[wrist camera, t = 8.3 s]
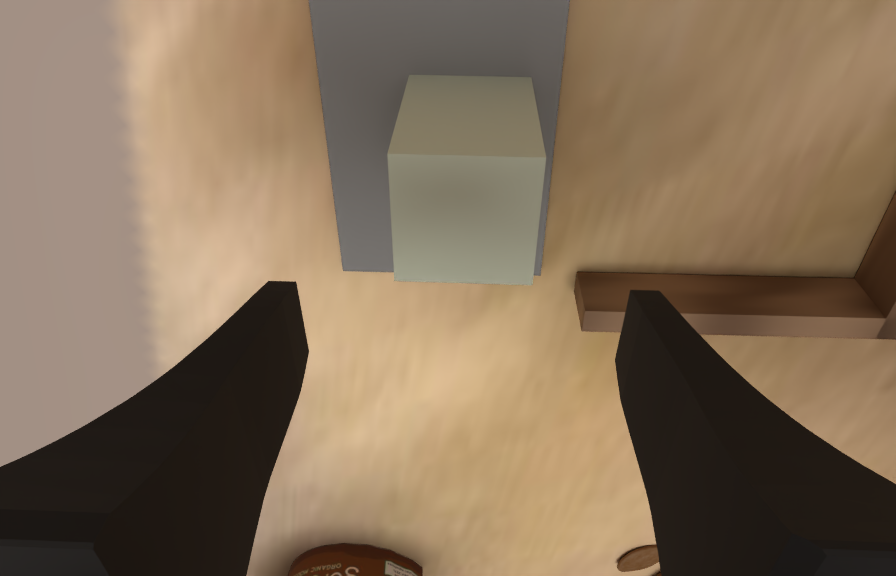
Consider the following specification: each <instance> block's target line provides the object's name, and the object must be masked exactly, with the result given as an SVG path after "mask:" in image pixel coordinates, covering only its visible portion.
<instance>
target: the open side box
mask: <svg viewBox="0 0 896 576" xmlns="http://www.w3.org/2000/svg"><path fill="white" fill-rule="evenodd" d="M630 290H659V291H660V292H661V293H662V294H663V295H664V296H665V297H666V298H667V299H668V301H669V302H670V303H671V304H672V305H673V306H674V307H675V308H676V310H677V311H678V312H679V313H680V314H681V315H682V316H683V317H684V318H685V319H686V321H687V322H688V323H689V324H690V325H691V326H692V327H693V328H694V329H695V330H696V332H697V333H698V334H705V335H743V336H781V337H820V338H858V339H896V193H895V195H894V197H893V199H892V201H891V203H890V205H889V207H888V209H887V211H886V213H885V215H884V218H883V220H882V222H881V224H880V226H879V228H878V230H877V232H876V234H875V236H874V238H873V241H872V243H871V245H870V247H869V249H868V251H867V253H866V255H865V257H864V259H863V261H862V263H861V266H860V268H859V270H858V272H857V274H856V276H855V278H815V277H771V276H727V275H683V274H639V273H595V272H577V276H576V282H575V289H574V294H575V299H576V304H577V309H578V314H579V320H580V325H581V330H582V331H590V332H621V330H622V326H623V321H624V316H625V312H626V307H627V303H628V298H629V293H630Z"/></svg>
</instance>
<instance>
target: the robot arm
mask: <svg viewBox="0 0 896 576" xmlns="http://www.w3.org/2000/svg"><path fill="white" fill-rule="evenodd" d="M308 353H309V349H308V344H307V338H306V333H305V328H304V322H303V317H302V311H301V306H300V300H299V295H298V290H297V284H296V282H286V281H268V282H267V283H266V284H265V285H264V286H263V287H262V288H261V289H259V290H258V291H257V292H256V293H255V294H254V295H253V296H252V297H251V298H250V299H249V300H248V301H247V302H246V303H245V304H244V305H243V306H242V307H241V308H240V309H239V310H238V311H237V312H235V313H234V314H233V315H232V316H231V317H230V318H229V319H228V320H227V321H226V322H225V323H224V324H223V325H222V326H221V327H220V328H218V329H217V330H216V331H215V332H214V333H213V334H212V335H211V336H210V337H209V338H208V339H206V340H205V341H204V342H203V343H202V344H201V345H199V346H198V347H197V348H196V349H195V350H193V351H192V352H191V353H190V354H189V355H187V356H186V357H185V358H184V359H183V360H181V361H180V362H179V363H178V364H177V365H176V366H174V367H173V368H172V369H170V370H169V371H168V372H166V373H165V374H164V375H162V376H161V377H160V378H158V379H157V380H156V381H154V382H153V383H151V384H150V385H148V386H147V387H146V388H144V389H143V390H141V391H140V392H138V393H137V394H136V395H134V396H133V397H131V398H129V399H128V400H127V401H125V402H123V403H122V404H120V405H118V406H117V407H115V408H113V409H112V410H110V411H108V412H107V413H105V414H103V415H102V416H100V417H98V418H97V419H95V420H94V421H92V422H90V423H88V424H87V425H85V426H83V427H81V428H79V429H78V430H76V431H74V432H72V433H70V434H68V435H66V436H65V437H63V438H61V439H59V440H57V441H55V442H53V443H51V444H49V445H47V446H45V447H43V448H41V449H39V450H37V451H35V452H33V453H30V454H28V455H26V456H24V457H22V458H20V459H17V460H15V461H13V462H11V463H8V464H6V465H4V466H1V467H0V576H246V575H247V570H248V565H249V561H250V556H251V552H252V547H253V543H254V538H255V534H256V530H257V525H258V521H259V517H260V513H261V509H262V504H263V500H264V496H265V493H266V490H267V487H268V483H269V480H270V477H271V474H272V471H273V468H274V466H275V463H276V460H277V457H278V454H279V452H280V449H281V446H282V443H283V440H284V438H285V435H286V432H287V429H288V426H289V424H290V421H291V418H292V415H293V412H294V409H295V407H296V404H297V401H298V398H299V395H300V392H301V387H302V383H303V378H304V374H305V369H306V364H307V359H308ZM615 363H616V371H617V379H618V386H619V392H620V399H621V404H622V407H623V411H624V415H625V418H626V422H627V426H628V429H629V433H630V436H631V440H632V443H633V447H634V450H635V454H636V457H637V461H638V464H639V468H640V471H641V475H642V478H643V482H644V485H645V489H646V493H647V497H648V501H649V505H650V510H651V515H652V521H653V527H654V532H655V538H656V544H657V550H658V556H659V563H660V569H661V576H896V484H894V483H893V482H891V481H889V480H888V479H886V478H884V477H882V476H881V475H879V474H877V473H875V472H874V471H872V470H870V469H868V468H867V467H865V466H863V465H862V464H860V463H858V462H857V461H855V460H853V459H852V458H850V457H849V456H847V455H845V454H844V453H842V452H841V451H839V450H837V449H836V448H834V447H833V446H831V445H830V444H828V443H827V442H826V441H824V440H823V439H821V438H820V437H818V436H817V435H815V434H814V433H812V432H811V431H809V430H808V429H806V428H805V427H804V426H802V425H801V424H799V423H798V422H797V421H795V420H794V419H793V418H791V417H790V416H789V415H787V414H786V413H785V412H784V411H782V410H781V409H780V408H779V407H777V406H776V405H775V404H773V403H772V402H771V401H770V400H768V399H767V398H766V397H765V396H763V395H762V394H761V393H760V392H759V391H758V390H756V389H755V388H754V387H753V386H752V385H751V384H750V383H748V382H747V381H746V380H745V379H744V378H743V377H742V376H741V375H740V374H739V373H737V372H736V371H735V370H734V369H733V368H732V367H731V366H730V365H729V364H728V363H727V362H726V361H725V360H724V359H723V358H722V357H721V356H720V355H719V354H718V353H717V352H716V351H715V350H714V349H713V348H712V347H711V346H710V345H709V344H708V343H707V342H706V341H705V340H704V339H703V338H702V337H701V336H700V335H699V334H698V333H697V332H696V330H695V329H694V328H693V327H692V326H691V325H690V324H689V323H688V322H687V321H686V319H685V318H684V317H683V316H682V315H681V314H680V313H679V312H678V311H677V310H676V308H675V307H674V306H673V305H672V304H671V303H670V302H669V301H668V299H667V298H666V297H665V296H664V295H663V294H662V293H661V292H660V291H659V290H630V293H629V298H628V303H627V307H626V312H625V316H624V321H623V326H622V330H621V335H620V340H619V344H618V349H617V353H616V358H615Z"/></svg>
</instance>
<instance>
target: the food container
mask: <svg viewBox="0 0 896 576" xmlns="http://www.w3.org/2000/svg"><path fill="white" fill-rule="evenodd" d="M288 576H422V567H421V566H419V565H418V564H417V563H415V562H414V561H413V560H411V559H409V558H407V557H405V556H403V555H400V554H398V553H396V552H394V551H391V550H388V549H383V548H379V547H375V546H371V545H365V544H348V543H341V544H332V545H324V546H320V547H316V548H314V549H311V550H309V551H306V552H305V553H303V554H301V555H300V556H299V557H298V558H297V559H295V561H294V562H293V564H292V565H291V568H290V571H289V574H288Z"/></svg>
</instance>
